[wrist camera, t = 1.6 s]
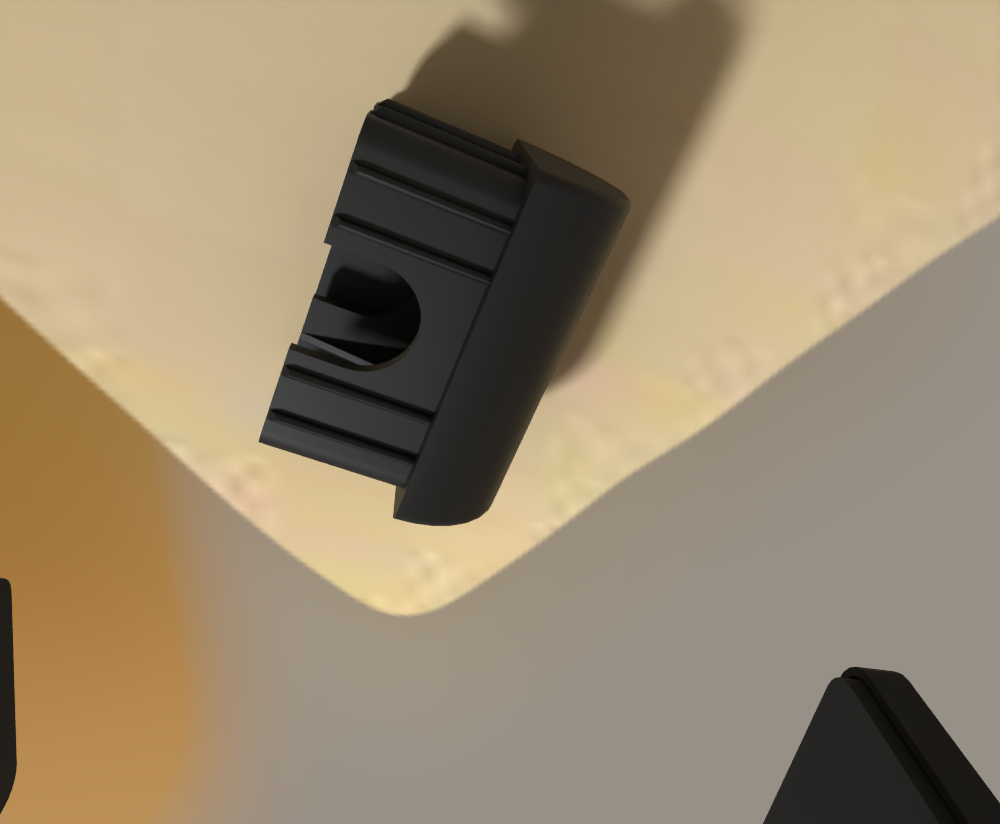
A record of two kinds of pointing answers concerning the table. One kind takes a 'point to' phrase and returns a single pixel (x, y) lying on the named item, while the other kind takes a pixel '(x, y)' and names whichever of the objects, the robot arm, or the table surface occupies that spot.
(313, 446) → the end cap
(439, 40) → the table surface
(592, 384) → the table surface
